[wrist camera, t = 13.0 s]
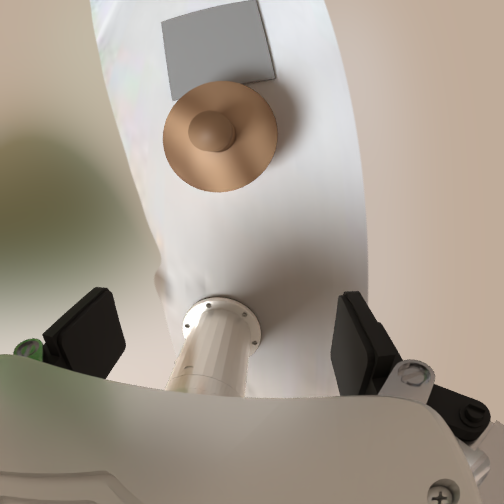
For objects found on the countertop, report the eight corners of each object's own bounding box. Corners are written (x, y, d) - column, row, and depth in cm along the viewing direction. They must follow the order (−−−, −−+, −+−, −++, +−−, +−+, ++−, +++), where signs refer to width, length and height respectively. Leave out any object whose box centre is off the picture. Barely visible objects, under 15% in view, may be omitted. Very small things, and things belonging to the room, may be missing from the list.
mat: (274, 78, 32) (275, 77, 31) (173, 100, 33) (172, 100, 33) (255, 1, 27) (255, -1, 27) (162, 23, 29) (161, 22, 29)
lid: (222, 213, 33) (212, 225, 27) (146, 143, 31) (122, 141, 25) (301, 134, 29) (308, 128, 24) (218, 63, 27) (208, 45, 21)
